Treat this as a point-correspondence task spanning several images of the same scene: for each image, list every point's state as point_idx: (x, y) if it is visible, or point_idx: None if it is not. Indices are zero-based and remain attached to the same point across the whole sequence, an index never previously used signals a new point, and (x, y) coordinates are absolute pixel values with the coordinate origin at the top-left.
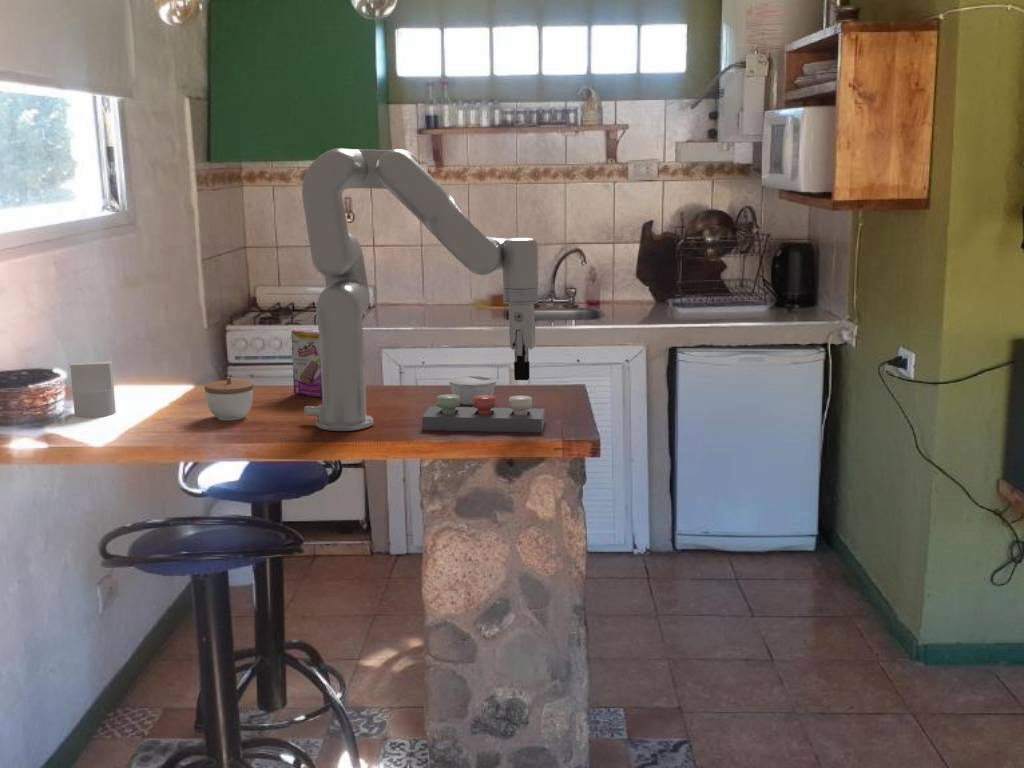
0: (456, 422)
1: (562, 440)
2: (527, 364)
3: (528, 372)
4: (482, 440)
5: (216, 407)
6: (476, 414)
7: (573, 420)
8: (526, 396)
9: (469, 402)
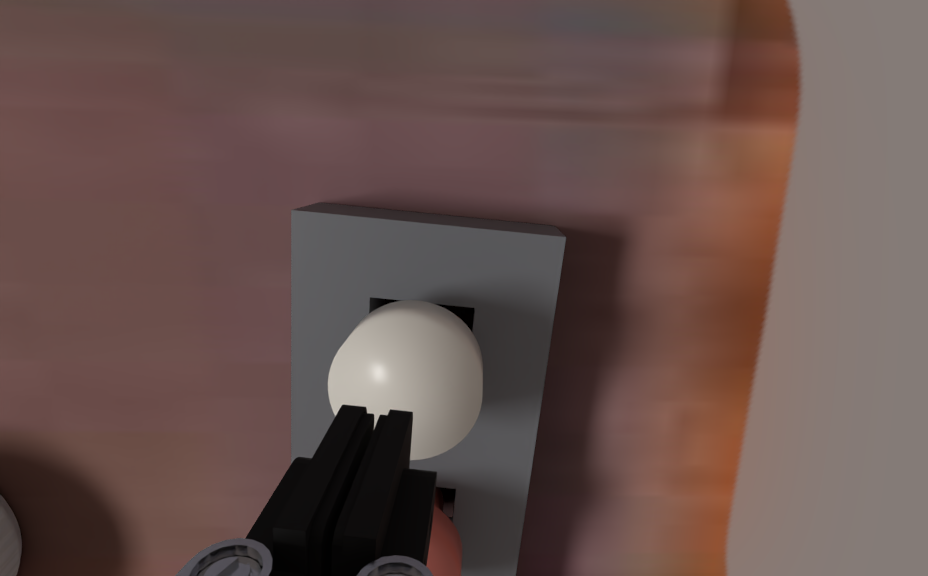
0: None
1: (726, 118)
2: (379, 528)
3: (400, 452)
4: (675, 486)
5: None
6: None
7: (274, 33)
8: (349, 353)
9: (19, 548)
